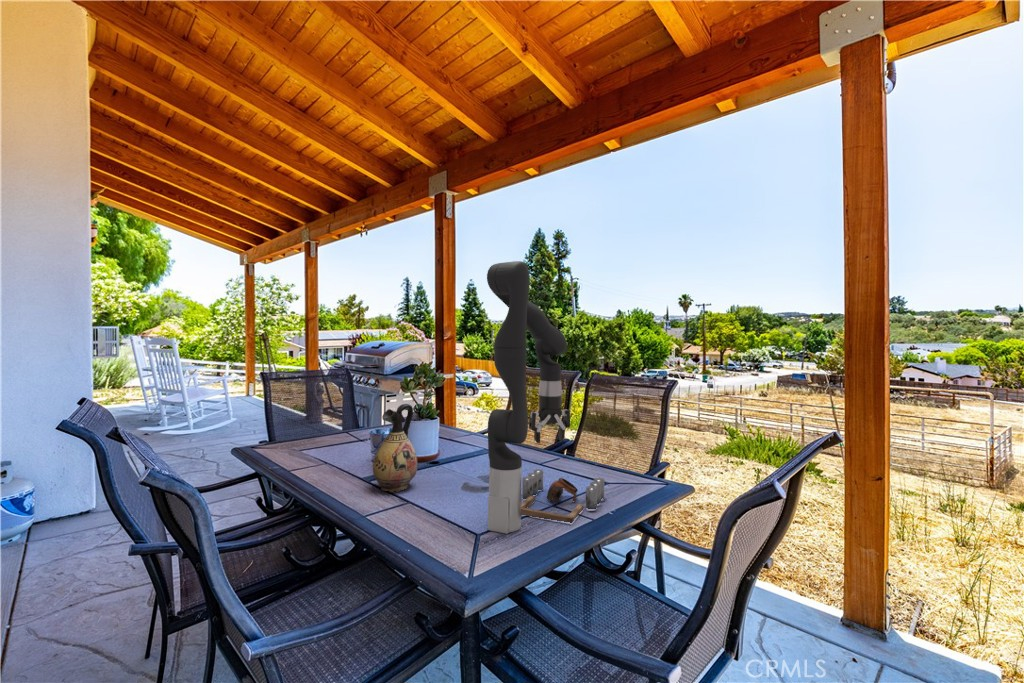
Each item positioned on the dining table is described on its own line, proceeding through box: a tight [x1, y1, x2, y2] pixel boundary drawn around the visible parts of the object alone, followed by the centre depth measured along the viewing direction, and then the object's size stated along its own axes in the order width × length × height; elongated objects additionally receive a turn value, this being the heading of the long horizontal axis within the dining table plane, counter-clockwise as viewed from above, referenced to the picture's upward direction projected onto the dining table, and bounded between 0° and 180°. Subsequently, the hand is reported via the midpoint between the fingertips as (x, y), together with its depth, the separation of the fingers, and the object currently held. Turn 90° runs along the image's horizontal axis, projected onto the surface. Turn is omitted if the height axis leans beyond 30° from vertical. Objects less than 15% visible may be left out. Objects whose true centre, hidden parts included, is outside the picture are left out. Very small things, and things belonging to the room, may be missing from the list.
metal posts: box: [521, 468, 605, 509], centre depth 150 cm, size 14×26×7 cm, turn 65°
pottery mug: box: [545, 477, 579, 503], centre depth 148 cm, size 12×10×8 cm
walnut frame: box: [521, 496, 585, 523], centre depth 138 cm, size 12×18×2 cm
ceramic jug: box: [372, 403, 418, 493], centre depth 159 cm, size 17×15×30 cm
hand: (549, 441), depth 149 cm, fingers open, 8 cm apart
